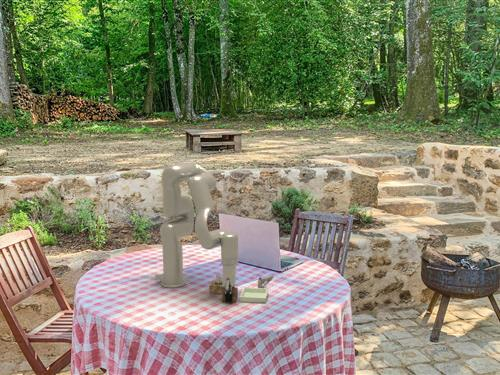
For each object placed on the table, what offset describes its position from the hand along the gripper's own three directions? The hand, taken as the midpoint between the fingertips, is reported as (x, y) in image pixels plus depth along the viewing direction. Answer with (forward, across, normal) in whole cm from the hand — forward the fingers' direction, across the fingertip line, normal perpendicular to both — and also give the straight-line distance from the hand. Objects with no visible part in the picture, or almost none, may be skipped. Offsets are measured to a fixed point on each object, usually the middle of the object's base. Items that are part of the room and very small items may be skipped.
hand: (230, 298), depth 223 cm
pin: (+1, -10, -7) cm, 12 cm away
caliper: (+1, -23, +14) cm, 27 cm away
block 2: (+1, 0, 0) cm, 1 cm away
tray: (+1, -4, +10) cm, 11 cm away
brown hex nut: (+1, -10, -7) cm, 12 cm away
